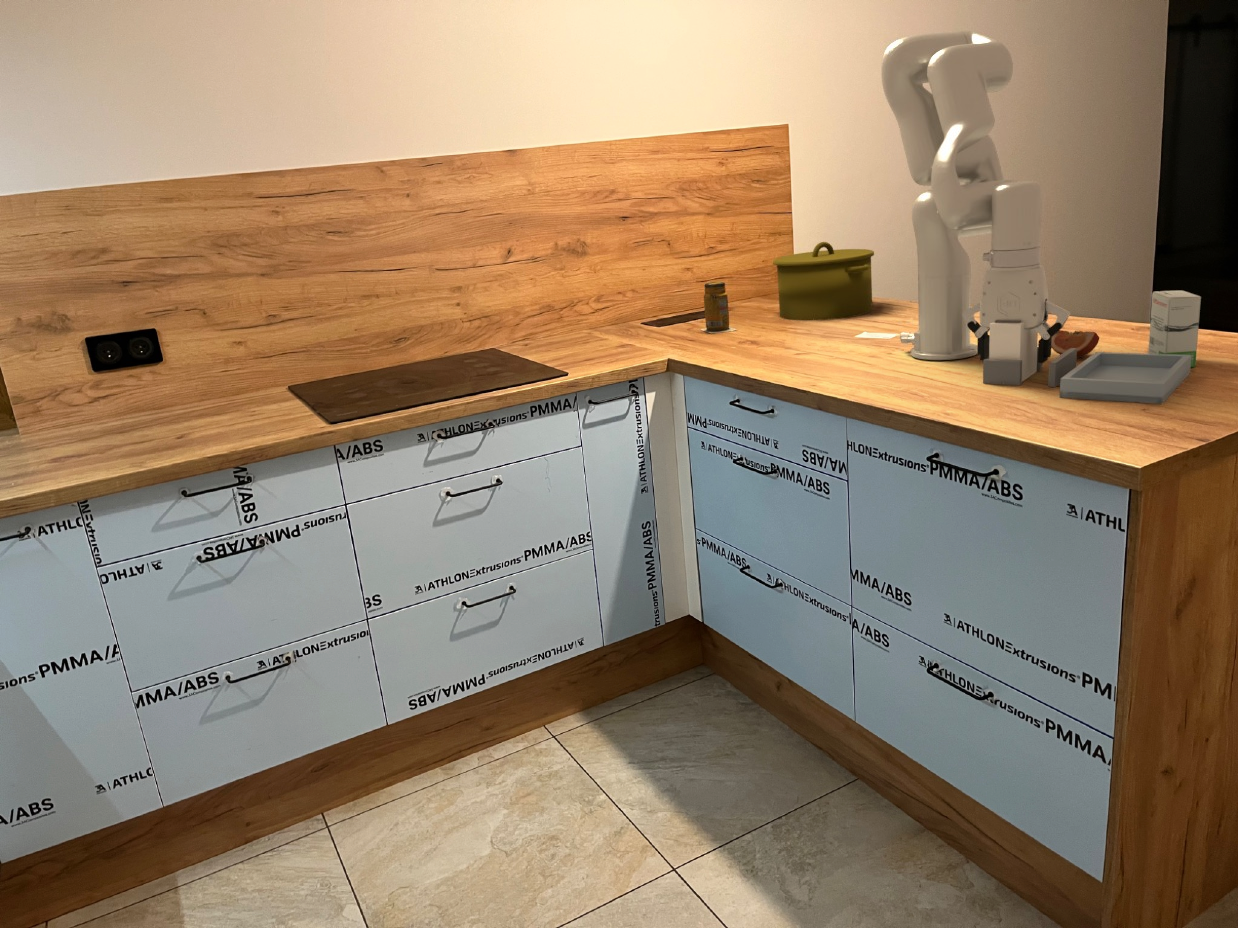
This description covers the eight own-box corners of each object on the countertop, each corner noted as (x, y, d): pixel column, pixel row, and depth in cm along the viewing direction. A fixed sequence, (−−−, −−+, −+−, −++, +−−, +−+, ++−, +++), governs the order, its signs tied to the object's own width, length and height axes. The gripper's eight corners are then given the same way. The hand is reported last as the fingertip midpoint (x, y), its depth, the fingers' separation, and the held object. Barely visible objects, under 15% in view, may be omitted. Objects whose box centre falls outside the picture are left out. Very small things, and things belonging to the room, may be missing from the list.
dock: (983, 383, 156) (983, 360, 155) (1006, 368, 165) (1007, 346, 164) (1054, 387, 149) (1055, 363, 148) (1075, 371, 157) (1076, 348, 156)
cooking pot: (751, 316, 252) (747, 248, 246) (824, 301, 263) (821, 236, 258) (826, 325, 226) (823, 249, 221) (903, 308, 238) (901, 235, 232)
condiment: (726, 326, 241) (723, 280, 237) (737, 330, 233) (734, 282, 229) (699, 330, 239) (696, 283, 236) (710, 334, 231) (706, 286, 228)
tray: (1059, 397, 143) (1060, 378, 142) (1095, 369, 157) (1096, 352, 156) (1162, 404, 134) (1163, 384, 133) (1189, 373, 148) (1191, 355, 147)
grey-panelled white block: (988, 381, 157) (989, 322, 154) (1007, 370, 164) (1008, 312, 160) (1019, 383, 154) (1020, 322, 151) (1036, 371, 160) (1038, 312, 157)
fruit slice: (1040, 358, 169) (1041, 331, 168) (1062, 351, 173) (1063, 325, 171) (1084, 363, 162) (1085, 335, 161) (1105, 356, 166) (1107, 328, 164)
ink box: (1197, 367, 151) (1203, 295, 148) (1164, 369, 152) (1169, 298, 149) (1177, 357, 159) (1182, 288, 156) (1146, 359, 160) (1150, 290, 157)
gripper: (955, 263, 156) (955, 362, 161) (1064, 260, 145) (1060, 367, 150) (971, 257, 161) (970, 354, 166) (1078, 254, 150) (1073, 357, 155)
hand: (1013, 360), depth 158 cm, fingers open, 9 cm apart
